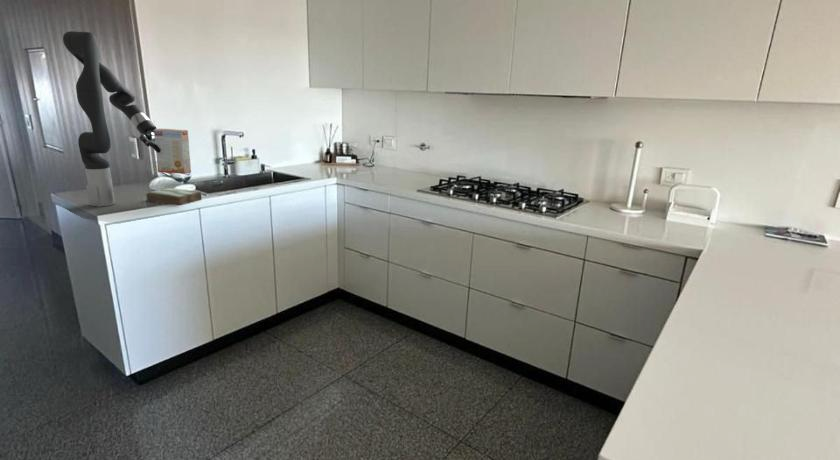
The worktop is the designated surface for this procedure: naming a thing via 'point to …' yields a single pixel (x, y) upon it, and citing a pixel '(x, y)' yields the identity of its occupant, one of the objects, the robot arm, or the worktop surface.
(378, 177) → the worktop surface
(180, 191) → the podium
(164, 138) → the cracker box
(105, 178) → the robot arm
